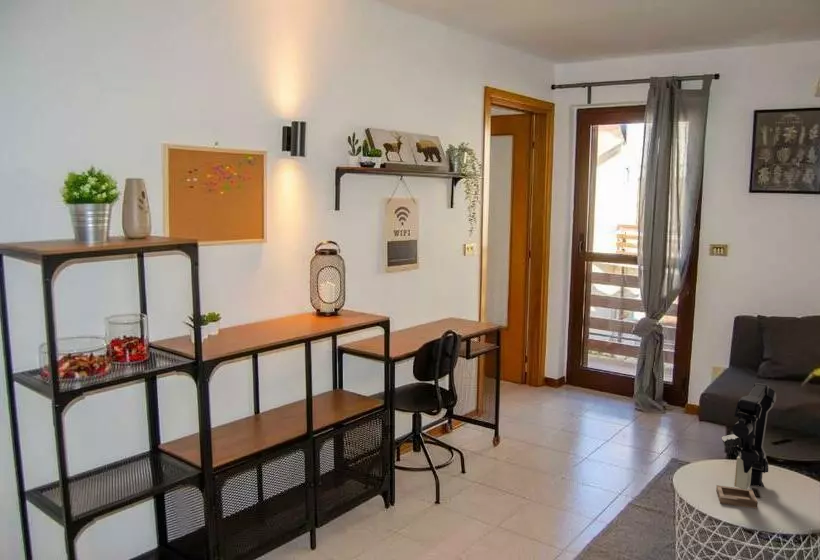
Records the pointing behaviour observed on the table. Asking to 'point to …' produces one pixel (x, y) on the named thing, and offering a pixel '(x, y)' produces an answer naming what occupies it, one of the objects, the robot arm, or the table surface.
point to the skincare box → (742, 475)
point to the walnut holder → (736, 496)
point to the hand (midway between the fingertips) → (743, 468)
